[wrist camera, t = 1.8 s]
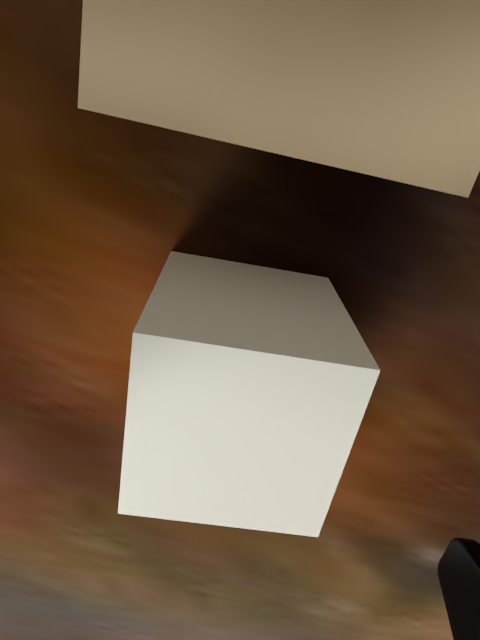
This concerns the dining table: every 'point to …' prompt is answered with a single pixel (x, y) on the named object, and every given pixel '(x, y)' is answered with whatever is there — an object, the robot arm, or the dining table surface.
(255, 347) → the off-white plain cube
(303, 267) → the dining table surface
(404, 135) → the oak block
